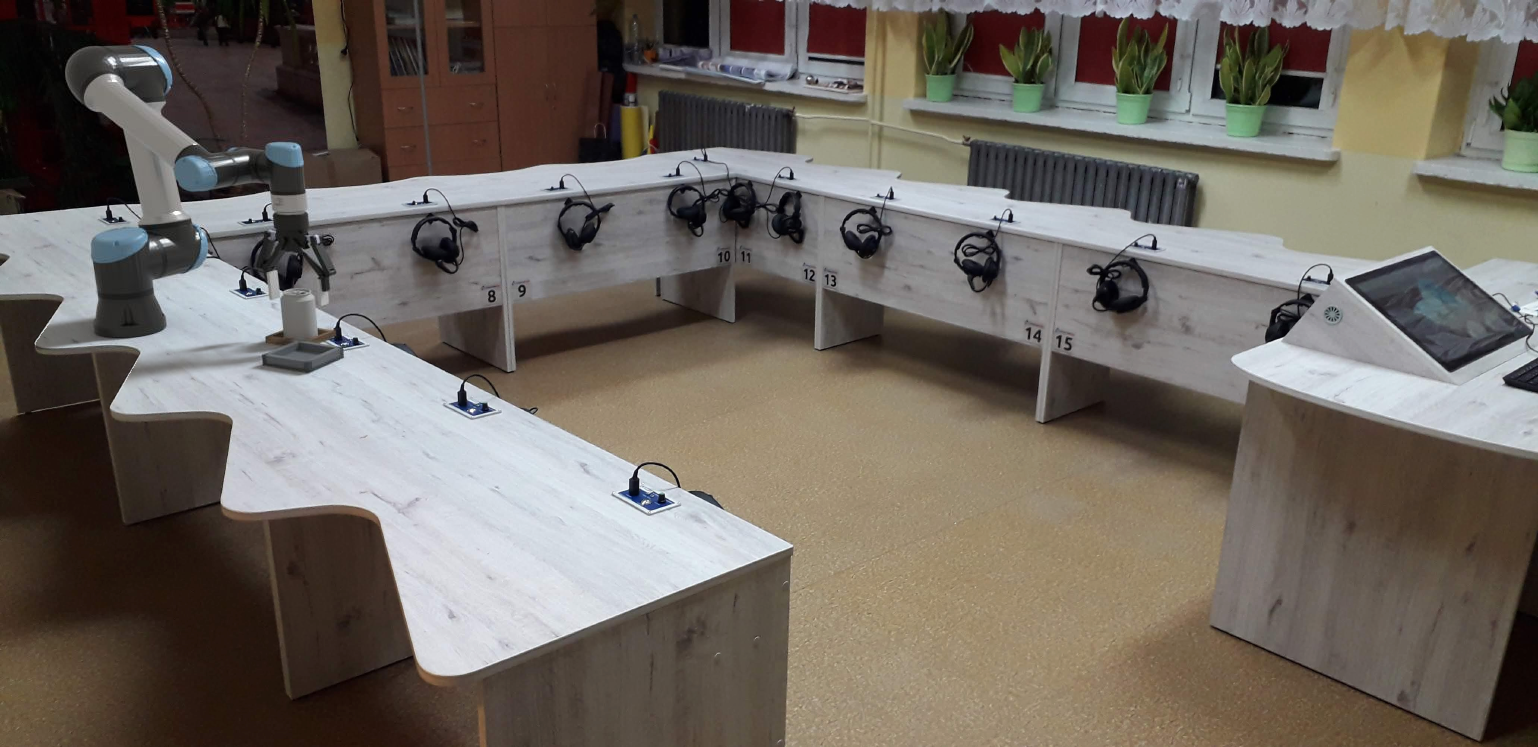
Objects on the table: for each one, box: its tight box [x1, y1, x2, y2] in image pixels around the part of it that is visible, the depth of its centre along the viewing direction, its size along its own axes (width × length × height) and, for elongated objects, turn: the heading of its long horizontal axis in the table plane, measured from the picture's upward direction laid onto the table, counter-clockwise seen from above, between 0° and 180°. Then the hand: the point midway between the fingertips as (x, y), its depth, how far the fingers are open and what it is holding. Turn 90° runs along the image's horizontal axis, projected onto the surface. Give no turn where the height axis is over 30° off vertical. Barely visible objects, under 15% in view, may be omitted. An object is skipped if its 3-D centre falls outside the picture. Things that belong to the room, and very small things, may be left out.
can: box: [279, 287, 318, 341], centre depth 263 cm, size 8×8×12 cm
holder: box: [264, 327, 337, 347], centre depth 264 cm, size 11×11×2 cm
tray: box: [261, 340, 345, 374], centre depth 249 cm, size 12×12×2 cm
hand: (299, 301), depth 261 cm, fingers open, 13 cm apart
